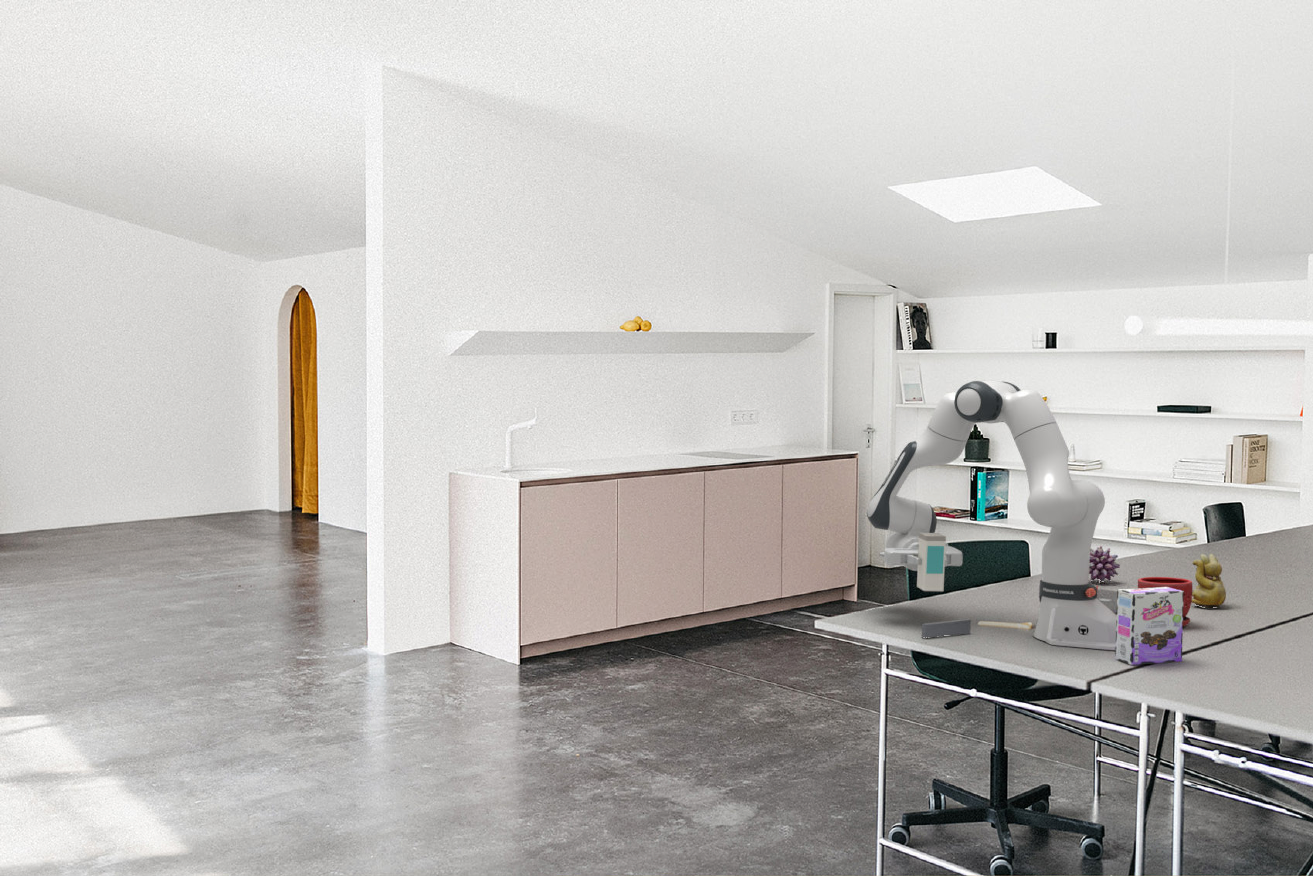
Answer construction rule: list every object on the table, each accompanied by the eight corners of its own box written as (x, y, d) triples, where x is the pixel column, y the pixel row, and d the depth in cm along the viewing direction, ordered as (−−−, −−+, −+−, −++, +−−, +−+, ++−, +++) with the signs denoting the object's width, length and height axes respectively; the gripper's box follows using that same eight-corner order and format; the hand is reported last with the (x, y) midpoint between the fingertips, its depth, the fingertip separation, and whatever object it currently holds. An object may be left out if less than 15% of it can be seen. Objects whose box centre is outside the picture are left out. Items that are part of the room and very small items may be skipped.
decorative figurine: (1204, 603, 328) (1205, 551, 327) (1233, 607, 321) (1234, 554, 320) (1186, 607, 322) (1187, 554, 321) (1215, 611, 315) (1216, 557, 315)
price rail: (921, 637, 283) (921, 623, 282) (965, 632, 289) (965, 618, 288) (925, 639, 281) (925, 625, 281) (970, 633, 287) (970, 619, 287)
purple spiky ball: (1079, 585, 356) (1080, 547, 356) (1081, 579, 367) (1081, 542, 367) (1119, 588, 352) (1120, 549, 351) (1119, 581, 363) (1120, 544, 362)
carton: (935, 586, 295) (938, 533, 294) (943, 591, 289) (946, 536, 288) (916, 586, 295) (918, 532, 294) (924, 591, 288) (926, 536, 288)
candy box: (1131, 665, 255) (1133, 592, 254) (1114, 659, 261) (1115, 588, 260) (1183, 662, 259) (1185, 590, 258) (1165, 655, 264) (1166, 585, 263)
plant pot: (1195, 623, 300) (1196, 578, 300) (1186, 632, 289) (1187, 585, 289) (1142, 617, 308) (1143, 573, 307) (1132, 625, 297) (1133, 580, 296)
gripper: (877, 541, 304) (892, 549, 290) (952, 542, 305) (970, 550, 292) (876, 564, 304) (891, 573, 290) (951, 565, 306) (969, 574, 292)
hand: (931, 561), depth 291 cm, fingers closed on carton, 5 cm apart
